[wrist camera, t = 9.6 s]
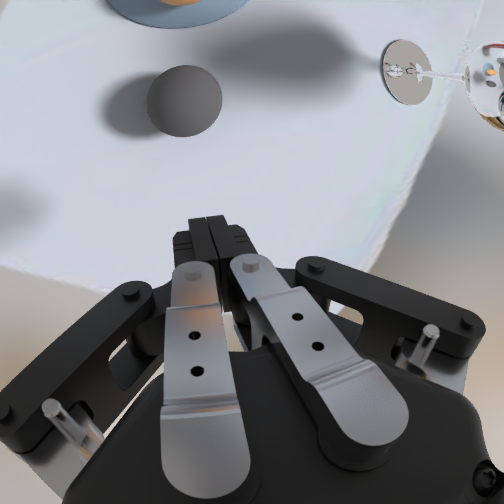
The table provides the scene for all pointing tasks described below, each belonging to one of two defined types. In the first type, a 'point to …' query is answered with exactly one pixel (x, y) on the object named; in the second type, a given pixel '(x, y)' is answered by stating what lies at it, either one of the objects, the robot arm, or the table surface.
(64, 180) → the table surface
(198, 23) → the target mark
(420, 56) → the wineglass
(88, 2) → the table surface
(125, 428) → the robot arm
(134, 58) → the table surface
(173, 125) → the gray ball
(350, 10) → the table surface
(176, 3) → the object ball
